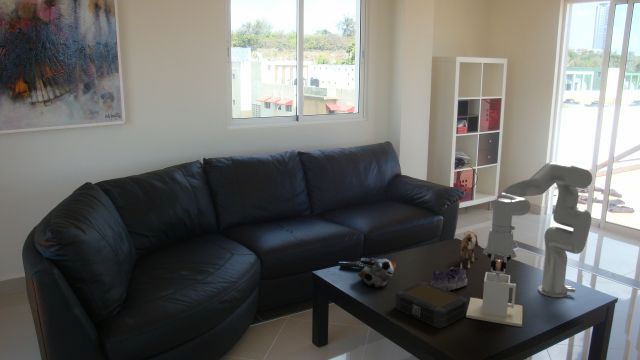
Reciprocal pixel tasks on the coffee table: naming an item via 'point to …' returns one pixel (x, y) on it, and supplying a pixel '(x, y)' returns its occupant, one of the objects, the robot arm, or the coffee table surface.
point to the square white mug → (496, 302)
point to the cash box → (431, 304)
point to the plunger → (498, 269)
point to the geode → (449, 279)
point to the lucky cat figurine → (377, 272)
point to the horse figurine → (468, 246)
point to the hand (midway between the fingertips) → (498, 269)
